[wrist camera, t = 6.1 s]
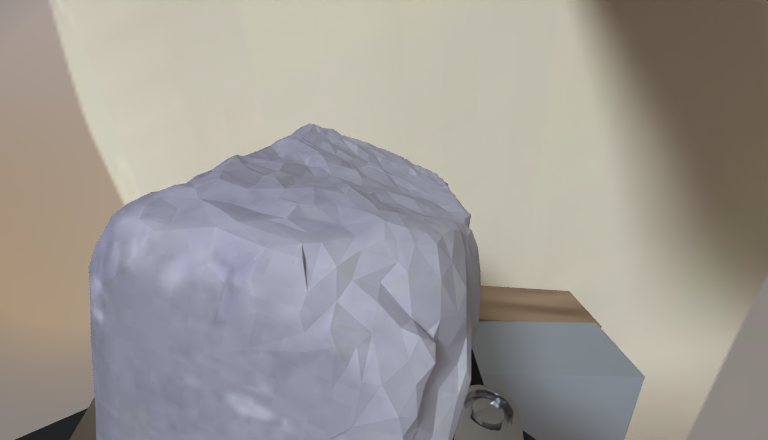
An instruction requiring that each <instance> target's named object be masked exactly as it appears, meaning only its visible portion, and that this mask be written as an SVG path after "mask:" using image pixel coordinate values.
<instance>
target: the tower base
mask: <svg viewBox="0 0 768 440" xmlns="http://www.w3.org/2000/svg"><path fill="white" fill-rule="evenodd" d="M479 321H519V322H572V323H596V324H597V325H598V326H599V327H600V328H601V325H600V324H599V323H598V322H597V321H596V320H595V319H594V318H593V317H592V316H591V315H590V313H589V312H588V311H587V310H586V309H585V308H584V307H583V306H582V305H581V304H580V303H579V302H578V300H577V299H576V298H575V297H574V296H573V295H572V294H571V293H570V292H569V291H557V290H541V289H525V288H509V287H493V286H480V319H479Z"/></svg>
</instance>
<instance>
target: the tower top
mask: <svg viewBox="0 0 768 440" xmlns="http://www.w3.org/2000/svg"><path fill="white" fill-rule="evenodd" d="M472 349H473V352H474V356H475V359H476V362H477V365H478V368H479V371H480V374H481V377H482V380H483V383H484V385H485V386H490V387H493V388H495V389H498V390H500V391H501V392H503V393H505V394H506V395H507V396H508V397H509V398H511V399H512V400H513V401H514V403H515V404H516V406H517V407H518V409H519V412H520V415H521V421H522V430H523V431H525V432H526V433H528V434H529V435H530V436H532V437H533V438H535V439H536V440H624V438H625V435H626V432H627V429H628V426H629V423H630V420H631V417H632V414H633V411H634V408H635V405H636V402H637V399H638V396H639V392H640V389H641V386H642V383H643V380H644V375H643V374H642V373H641V372H640V371H639V370H638V369H637V368H636V367H635V366H634V364H633V363H632V362H631V361H630V360H629V359H628V358H627V357H626V356H625V355H624V353H623V352H622V351H621V350H620V349H619V348H618V347H617V346H616V345H615V343H614V342H613V341H612V340H611V339H610V338H609V337H608V336H607V335H606V334H605V332H604V331H603V330H602V329H601V328H600V327H599V326H598V325H597V324H596V323H572V322H519V321H479V323H478V327H477V331H476V335H475V339H474V342H473V346H472Z"/></svg>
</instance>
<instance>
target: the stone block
mask: <svg viewBox="0 0 768 440" xmlns="http://www.w3.org/2000/svg"><path fill="white" fill-rule="evenodd" d="M470 218H471V214H469V213H468V212H467V211H466V210H465V209H464V208H463V206H462V205H461V203H460V202H459V201H458V199H457V198H456V197H455V195H454V194H453V193H452V192H451V191H450V189H449V187H448V184H447V183H446V182H444V180H443V179H442V178H440V177H439V176H438V175H437V174H436V173H433V172H431V171H429V170H428V169H425V168H423V167H421V166H418V165H414V164H412V163H411V162H410V161H408V160H407V159H404V158H403V157H401V156H398V155H396V154H394V153H391V152H389V151H386V150H384V149H381V148H377V147H375V146H373V145H371V144H369V143H366V142H363V141H360V140H357V139H354V138H350V137H346V136H342V135H341V134H339V133H338V132H337V131H335V130H334V129H327V128H321V127H319V126H317V125H315V124H308V125H305V126H303V127H301V128H299V129H298V130H297V131H296V132H294V133H293V134H292V135H290V136H287V137H285V138H283V139H280V140H278V141H276V142H275V143H274V144H272V145H271V146H268V147H266V148H264V149H262V150H259V151H256V152H254V153H251V154H248V155H246V156H239V155H235V156H233V157H231V158H229V159H227V160H225V161H224V162H223V163H221V164H220V165H218V166H217V167H215V168H214V169H213V170H210V171H208V172H205V173H203V174H200V175H197V176H196V177H194V178H193V179H191V180H190V181H189V182H187V183H185V184H179V185H174V186H171V187H169V188H166V189H164V190H161V191H158V192H151V193H149V194H147V195H145V196H143V197H141V198H139V199H137V200H135V201H132V202H130V203H128V204H127V205H125V206H124V207H123V208H121V209H120V210H119V211H117V212H116V213H115V214H113V215H112V217H111V219H110V220H109V222H108V224H107V226H106V227H105V229H104V231H103V233H102V234H101V236H100V238H99V240H98V241H97V243H96V245H95V249H94V252H93V255H92V259H91V262H90V265H89V280H90V281H89V282H90V313H91V349H92V363H93V378H94V393H95V407H96V440H453V436H454V433H455V430H456V427H457V424H458V420H459V417H460V414H461V411H462V407H463V404H464V401H465V398H466V395H467V391H468V388H469V386H470V382H471V349H472V346H473V342H474V339H475V335H476V331H477V327H478V323H479V319H480V264H479V254H478V246H477V244H476V241H475V238H474V236H473V233H472V230H471V229H469V224H470Z"/></svg>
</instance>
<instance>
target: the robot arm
mask: <svg viewBox="0 0 768 440" xmlns="http://www.w3.org/2000/svg"><path fill="white" fill-rule="evenodd" d="M16 440H96V407H95V397H94V399H93V400H92V402H91V404H90V406H89V407H88V408H87V409H85V410H83V411H81V412H78V413H76V414H74V415H71V416H69V417H67V418H64V419H62V420H60V421H57V422H55V423H53V424H50V425H48V426H46V427H44V428H41V429H39V430H37V431H34V432H32V433H30V434H27V435H25V436H23V437H20V438H18V439H16ZM453 440H536V439H535V438H533V437H532V436H530V435H529V434H528V433H526V432H525V431H523V430H522V421H521V415H520V412H519V409H518V407H517V406H516V404H515V403H514V401H513V400H512V399H511V398H509V397H508V396H507V395H506V394H505V393H503V392H501V391H500V390H498V389H495V388H493V387H490V386H485V385H484V383H483V380H482V377H481V374H480V371H479V368H478V365H477V362H476V359H475V356H474V352H473V349H471V382H470V386H469V388H468V391H467V395H466V398H465V401H464V404H463V407H462V411H461V414H460V417H459V420H458V424H457V427H456V430H455V433H454V436H453Z"/></svg>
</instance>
